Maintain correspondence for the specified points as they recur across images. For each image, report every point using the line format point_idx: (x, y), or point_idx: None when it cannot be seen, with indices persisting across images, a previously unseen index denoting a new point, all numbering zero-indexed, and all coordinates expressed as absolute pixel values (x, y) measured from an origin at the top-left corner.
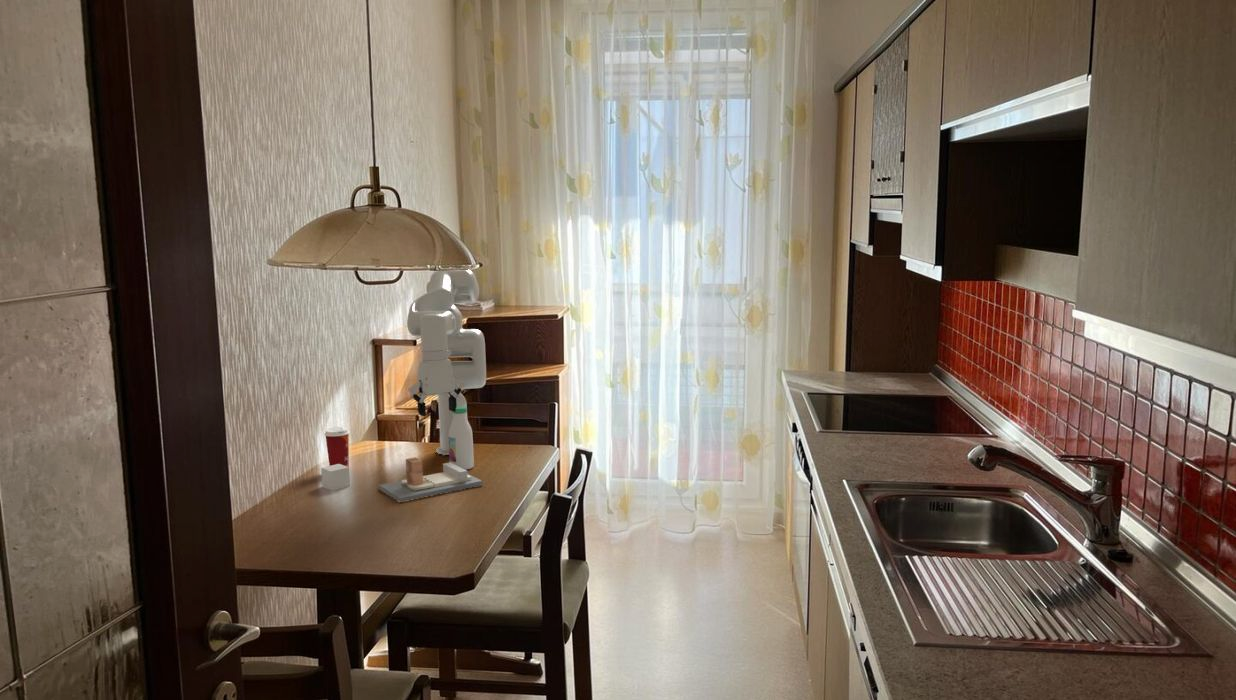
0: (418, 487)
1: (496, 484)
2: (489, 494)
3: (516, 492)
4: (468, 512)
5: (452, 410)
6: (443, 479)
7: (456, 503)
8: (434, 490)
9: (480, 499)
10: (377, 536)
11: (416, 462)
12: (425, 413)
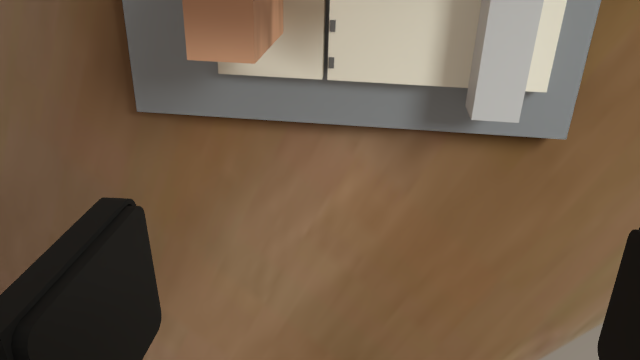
0: (239, 74)
1: (619, 157)
2: (494, 250)
3: (589, 298)
4: (316, 349)
5: (606, 332)
6: (404, 35)
7: (331, 253)
8: (305, 118)
9: (427, 274)
10: None
11: (217, 59)
12: (143, 345)
